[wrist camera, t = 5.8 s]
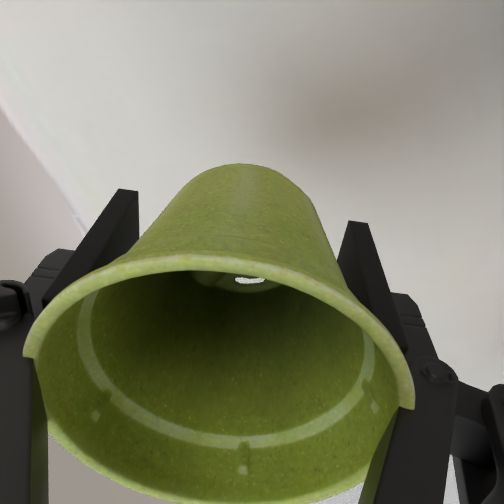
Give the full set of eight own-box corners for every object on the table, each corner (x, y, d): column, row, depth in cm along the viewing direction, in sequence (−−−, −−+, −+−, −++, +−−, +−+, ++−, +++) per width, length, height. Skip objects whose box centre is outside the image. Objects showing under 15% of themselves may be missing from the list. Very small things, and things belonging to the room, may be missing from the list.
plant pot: (159, 322, 21) (96, 513, 14) (96, 130, 16) (-60, 277, 8) (357, 311, 20) (401, 511, 13) (360, 101, 15) (438, 240, 7)
